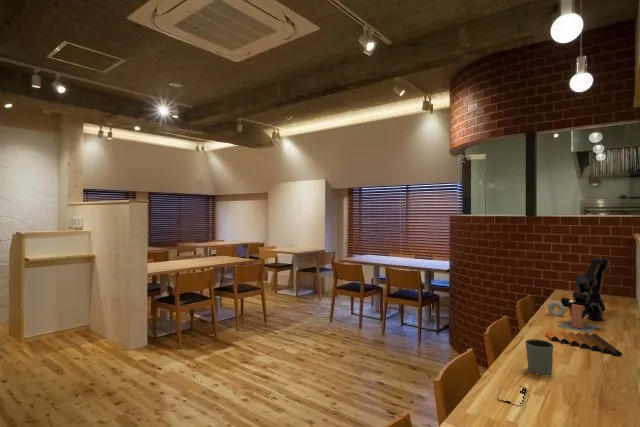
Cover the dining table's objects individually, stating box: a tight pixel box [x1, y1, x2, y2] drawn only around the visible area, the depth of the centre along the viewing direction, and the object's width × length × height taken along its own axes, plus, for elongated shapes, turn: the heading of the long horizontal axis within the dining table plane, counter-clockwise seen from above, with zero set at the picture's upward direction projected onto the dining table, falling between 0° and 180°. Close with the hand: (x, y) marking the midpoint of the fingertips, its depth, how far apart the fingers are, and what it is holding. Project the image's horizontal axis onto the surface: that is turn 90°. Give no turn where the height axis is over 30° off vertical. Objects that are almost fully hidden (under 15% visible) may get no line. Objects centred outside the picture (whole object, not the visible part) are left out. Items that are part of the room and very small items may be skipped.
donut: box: [547, 300, 567, 317], centre depth 243 cm, size 10×4×10 cm, turn 45°
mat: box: [556, 319, 602, 334], centre depth 221 cm, size 20×16×1 cm
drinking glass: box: [525, 338, 554, 376], centre depth 162 cm, size 10×10×12 cm
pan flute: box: [544, 330, 623, 357], centre depth 193 cm, size 25×3×25 cm
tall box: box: [570, 304, 585, 329], centre depth 218 cm, size 3×5×12 cm, turn 38°
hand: (576, 317), depth 217 cm, fingers closed on tall box, 5 cm apart
